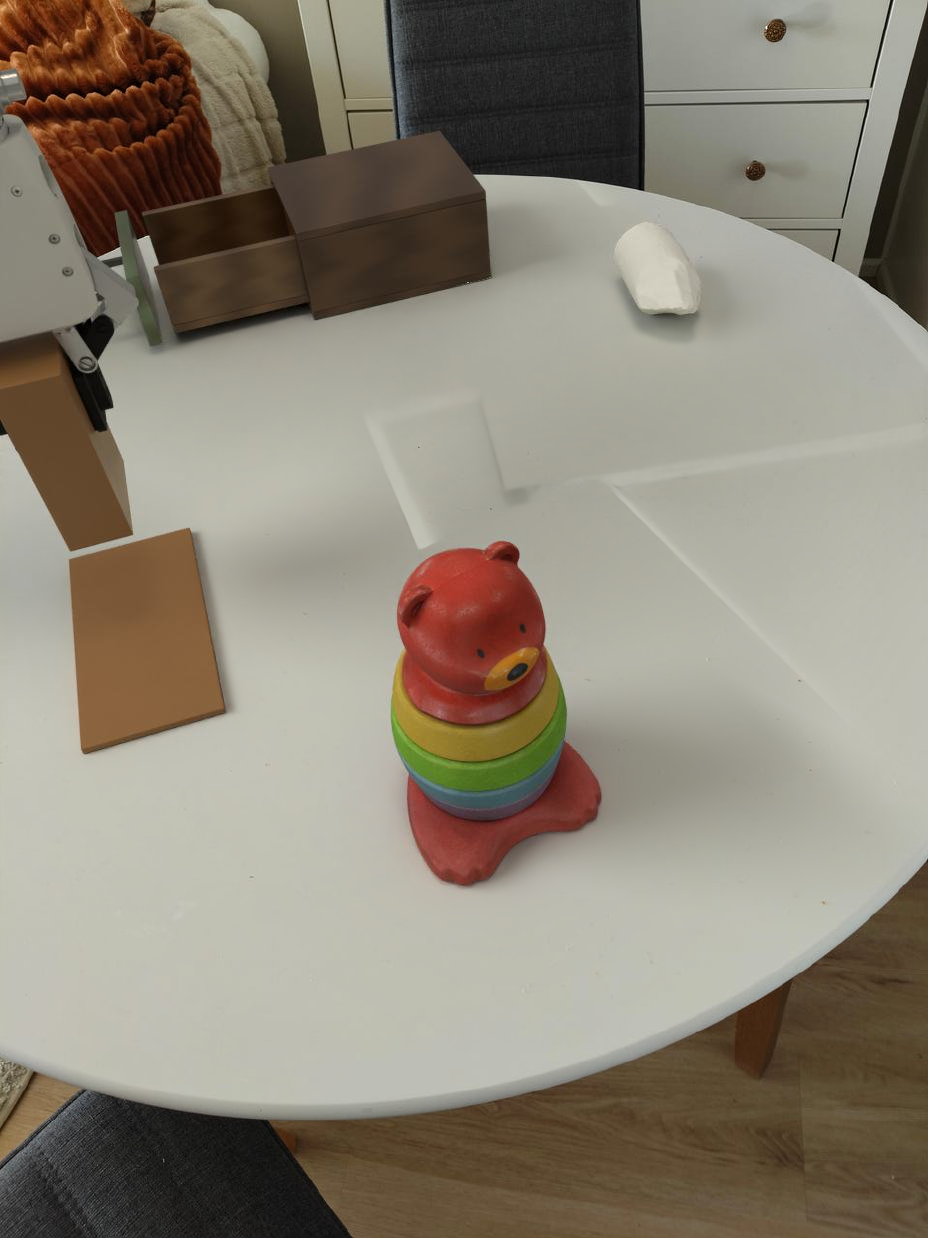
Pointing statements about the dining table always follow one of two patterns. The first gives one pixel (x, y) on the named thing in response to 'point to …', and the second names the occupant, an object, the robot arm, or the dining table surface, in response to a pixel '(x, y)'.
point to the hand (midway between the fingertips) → (61, 426)
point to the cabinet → (385, 222)
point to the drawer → (214, 260)
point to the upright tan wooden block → (62, 443)
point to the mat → (141, 641)
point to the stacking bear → (481, 715)
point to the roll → (657, 270)
